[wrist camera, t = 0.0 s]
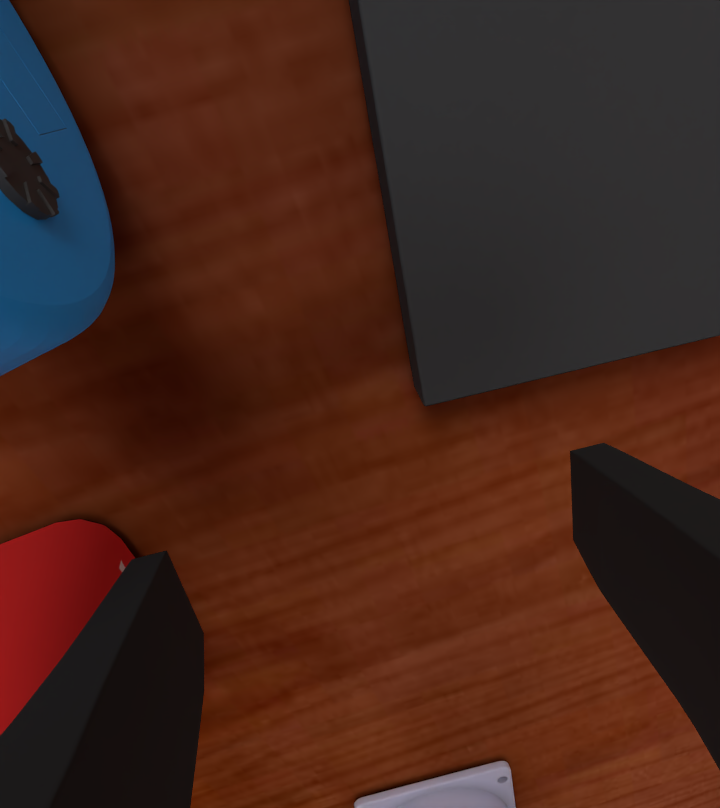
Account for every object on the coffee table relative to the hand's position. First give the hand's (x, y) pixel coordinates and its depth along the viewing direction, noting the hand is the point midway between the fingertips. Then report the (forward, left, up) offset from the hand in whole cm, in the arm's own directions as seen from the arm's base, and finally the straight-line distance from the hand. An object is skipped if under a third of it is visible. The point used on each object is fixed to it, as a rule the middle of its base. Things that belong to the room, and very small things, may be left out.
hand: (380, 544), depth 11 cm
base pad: (+6, -8, -10) cm, 14 cm away
